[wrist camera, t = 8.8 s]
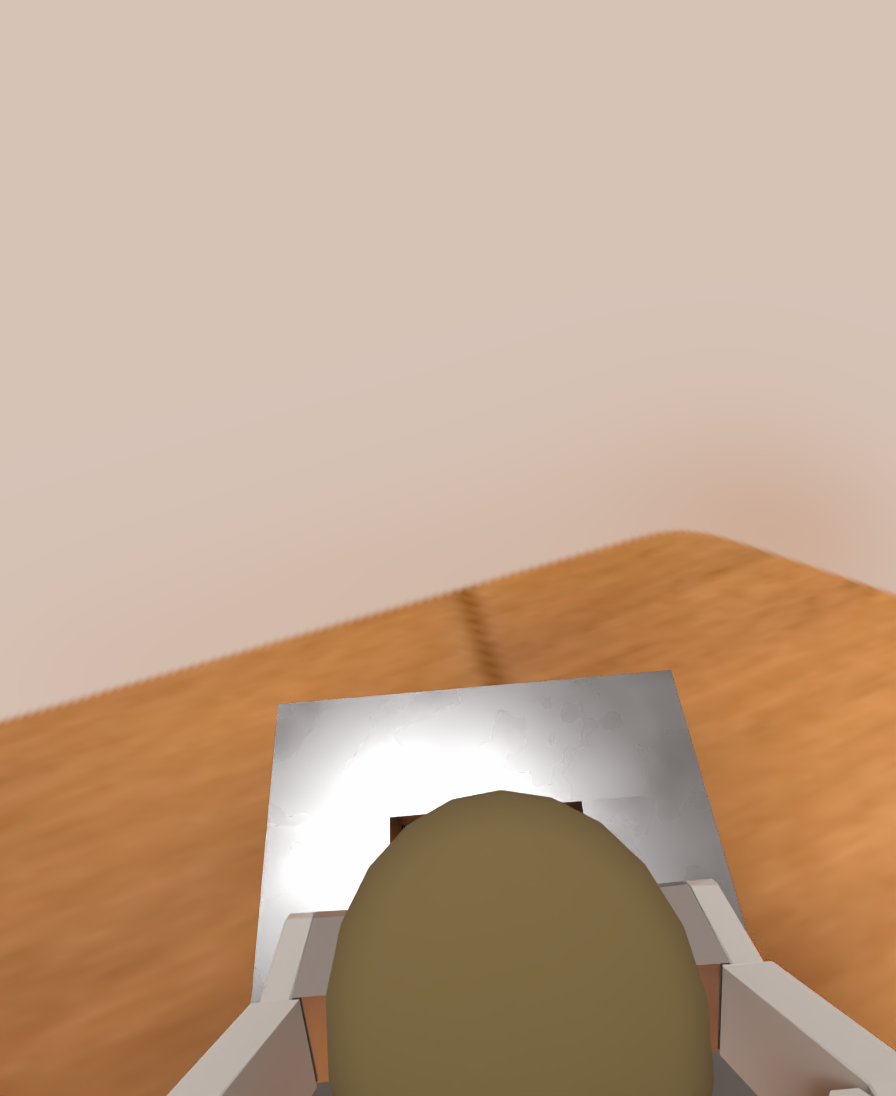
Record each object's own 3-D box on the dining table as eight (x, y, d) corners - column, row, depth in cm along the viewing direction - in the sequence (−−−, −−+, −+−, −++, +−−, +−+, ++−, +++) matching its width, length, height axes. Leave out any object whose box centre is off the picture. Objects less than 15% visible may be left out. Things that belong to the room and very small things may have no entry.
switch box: (267, 1248, 17) (221, 1326, 14) (302, 724, 25) (278, 704, 22) (784, 1211, 17) (848, 1282, 14) (648, 695, 25) (670, 670, 22)
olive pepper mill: (471, 780, 18) (453, 663, 9) (645, 909, 16) (872, 941, 6) (351, 967, 16) (144, 1091, 6) (537, 1149, 13) (649, 1754, 4)
